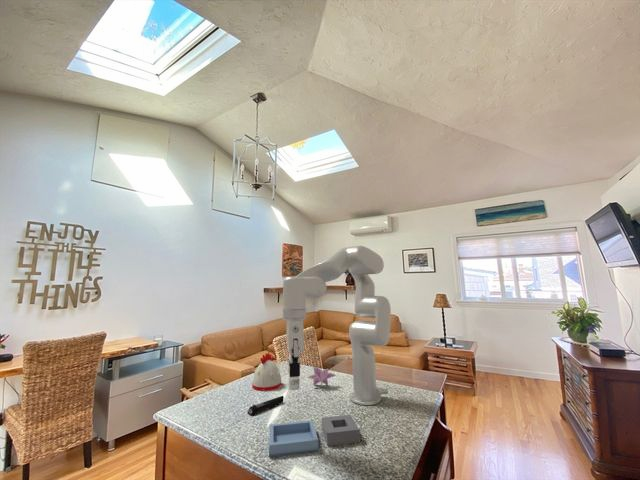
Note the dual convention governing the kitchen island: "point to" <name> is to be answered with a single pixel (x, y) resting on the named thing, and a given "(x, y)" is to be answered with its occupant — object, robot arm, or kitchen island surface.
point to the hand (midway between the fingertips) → (294, 374)
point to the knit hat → (266, 375)
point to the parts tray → (292, 438)
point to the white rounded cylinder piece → (293, 380)
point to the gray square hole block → (340, 430)
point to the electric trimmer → (265, 405)
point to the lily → (321, 376)
